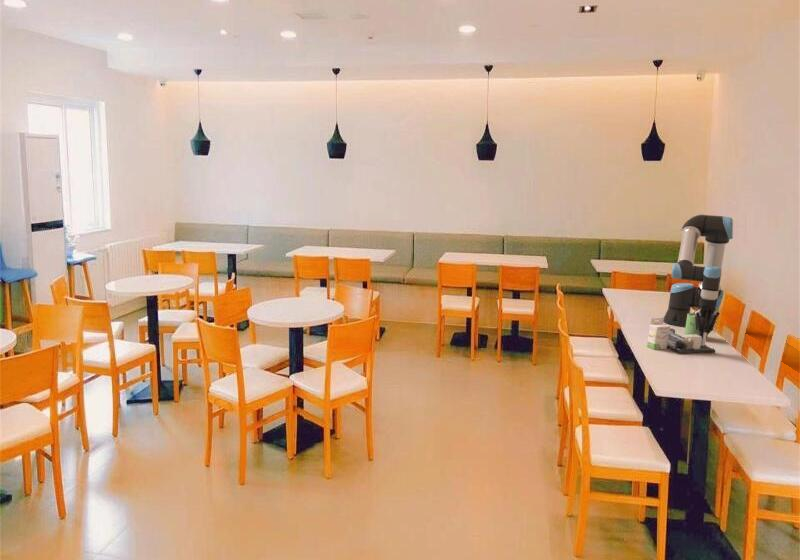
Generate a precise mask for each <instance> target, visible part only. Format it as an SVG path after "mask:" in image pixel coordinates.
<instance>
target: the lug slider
mask: <svg viewBox="0 0 800 560" xmlns="http://www.w3.org/2000/svg"><path fill="white" fill-rule="evenodd" d="M681 336H682V337H685V338H689V339H688V340H690V341H693V342H694V344H693V348H692V349H700V345H701V338H702V337H701V336H699V335H697V334H689V335H684V334H682V335H681Z"/></svg>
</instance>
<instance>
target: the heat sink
mask: <svg viewBox="0 0 800 560" xmlns="http://www.w3.org/2000/svg"><path fill="white" fill-rule="evenodd" d="M668 343H670V344H672V345H674V346H684V344H685V342H683V341H681V340H679V339H677V338H675V337H668Z"/></svg>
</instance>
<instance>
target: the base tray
mask: <svg viewBox="0 0 800 560" xmlns="http://www.w3.org/2000/svg"><path fill="white" fill-rule="evenodd" d="M669 331H671V332H673V333H675V334H676V329H674V328H671V327H670V330H669ZM669 337H673V336H671V335H669ZM684 338H685V337H684ZM686 339H689V338H686ZM692 348H693V344H688V343H685V344H684V346H674V345H672V344H670V343H668V344H667V348H666V349H668V350H670V351H672V352H674V353H676V354H678V355H689V354H690V355H691V354H694V355H695V354H697V355H698V354H716V349H715V348H711V347H709V346H707V344H705V346H702V345H700V349H692Z"/></svg>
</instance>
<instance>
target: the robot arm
mask: <svg viewBox="0 0 800 560" xmlns="http://www.w3.org/2000/svg"><path fill="white" fill-rule="evenodd" d="M733 221H734V220H733V218H732V217H730V216H725V215H708V214H697V215H694V216H692V217H690V218H689V219H687V220H686V222H684V224H683V226H682V227H681V230H680V235H681V242H680V247H679V253H678V258H677V262H676V263H673V265H672V268H671V275H670V276H671V278H672V279H678V280H682V281H683V280H684V281H693V282H700V283H698V286H695V284H694V283H690V282H677V283H674V284H672V285H671V288H670V292H669V293H670V295H669V300H668V301H669V302H668V308H667V311H666V312H665V315H664V316H663V318H664V320H663V323H664V324H666V325H672V326H677V327H686V321H687V314H688V313H691V309H692V308H694V309H698V310H697V311H694V312H693V313H694V315H695V323H696V330H698V331H699V336H701V337H702V338H701V345H702V346H705V345H706V340H707V339H708V335H709V334H710V333H711V332H712V331H713V329H714V327H715V324H716V322H717V318H718V317H719V315H720V312H718V311H717V310H719V308H720V306H721V305H722V300H723V296H724V290H723V289H722V286H721V285H720V283H721V279H722V269H723V268H722V267H723V262H724V261H723V260H724V254H725V247H726V245H727V244H728V243H729V242H730V240H733V238H734V237H733V235H734V233H733V232H734V230H733V228H734V227H733V226H734V225H733V224H734V222H733ZM700 237H703V238H704V241H705V242H706V243H707V245H706V251H705V258H704V265H703V266H699V265H694V264H695V257H696V253H697V252H696V250H697V245H698V239H699V238H700ZM709 331H711V332H709ZM708 333H709V334H708Z"/></svg>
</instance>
